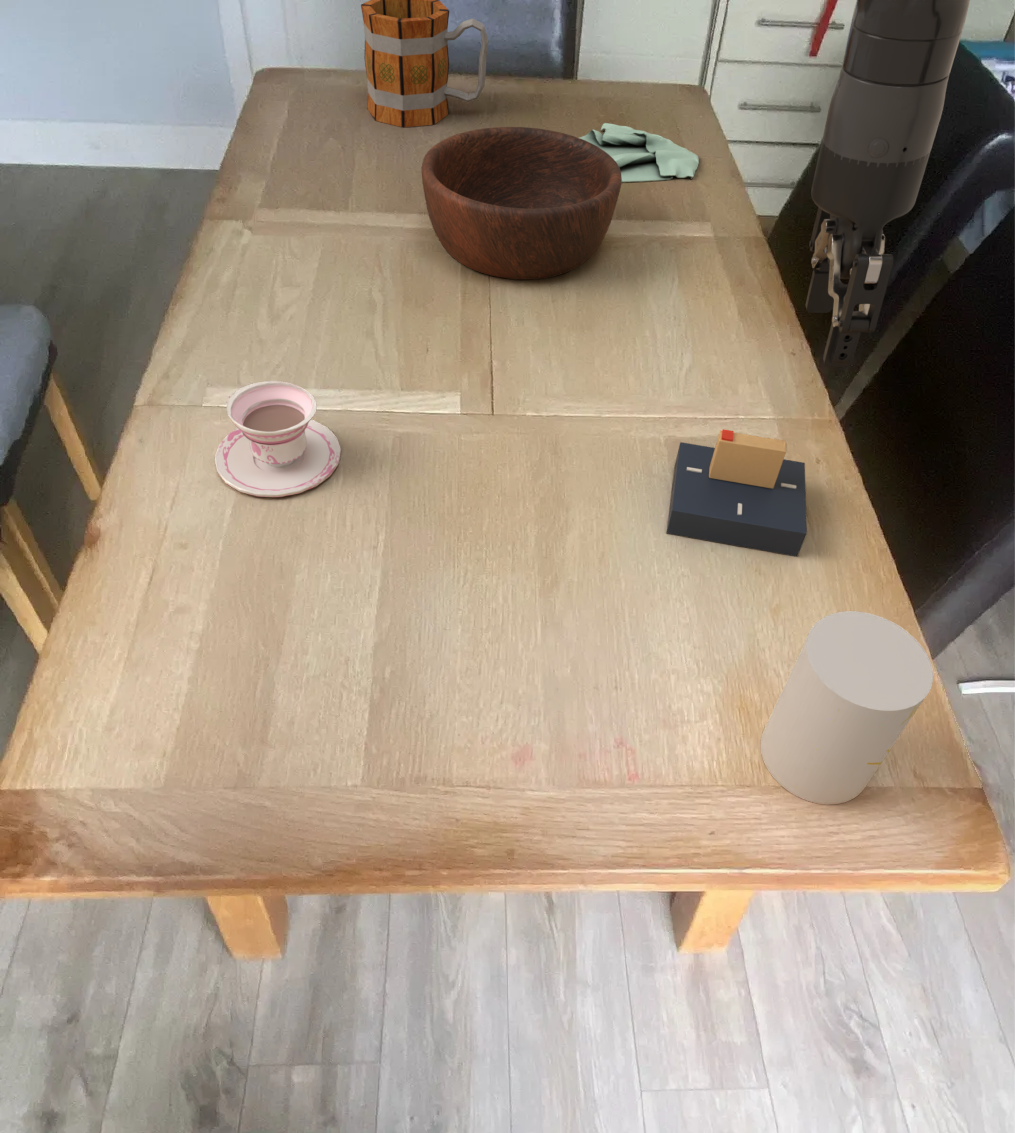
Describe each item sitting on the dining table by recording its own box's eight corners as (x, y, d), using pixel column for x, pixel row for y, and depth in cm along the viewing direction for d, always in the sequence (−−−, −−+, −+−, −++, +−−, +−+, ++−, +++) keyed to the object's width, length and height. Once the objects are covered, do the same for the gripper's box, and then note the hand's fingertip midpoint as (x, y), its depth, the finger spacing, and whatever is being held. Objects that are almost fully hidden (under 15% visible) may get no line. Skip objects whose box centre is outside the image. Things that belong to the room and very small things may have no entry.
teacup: (364, 443, 90) (360, 392, 86) (293, 515, 83) (284, 464, 78) (266, 406, 94) (256, 355, 89) (189, 473, 86) (174, 421, 81)
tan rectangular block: (773, 478, 85) (787, 438, 81) (773, 489, 84) (787, 449, 80) (709, 467, 86) (720, 427, 82) (708, 478, 84) (719, 438, 81)
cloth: (710, 184, 135) (714, 168, 133) (565, 182, 133) (567, 165, 131) (683, 129, 149) (686, 114, 147) (551, 126, 147) (553, 110, 145)
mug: (360, 124, 144) (353, 18, 133) (373, 93, 153) (367, -9, 142) (484, 132, 144) (486, 27, 133) (488, 100, 153) (491, -1, 142)
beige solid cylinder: (876, 813, 65) (942, 720, 56) (762, 794, 66) (810, 699, 57) (863, 718, 70) (922, 620, 62) (758, 702, 71) (802, 603, 62)
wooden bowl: (633, 223, 125) (645, 148, 118) (577, 311, 109) (586, 230, 101) (467, 186, 131) (469, 111, 123) (390, 264, 114) (386, 184, 107)
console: (795, 478, 90) (805, 454, 87) (797, 557, 82) (807, 532, 80) (675, 458, 91) (681, 433, 89) (666, 533, 84) (672, 508, 81)
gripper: (959, 178, 60) (891, 385, 71) (906, 102, 70) (854, 294, 81) (843, 179, 60) (794, 384, 72) (807, 102, 70) (769, 294, 82)
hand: (826, 336), depth 76 cm, fingers open, 8 cm apart
